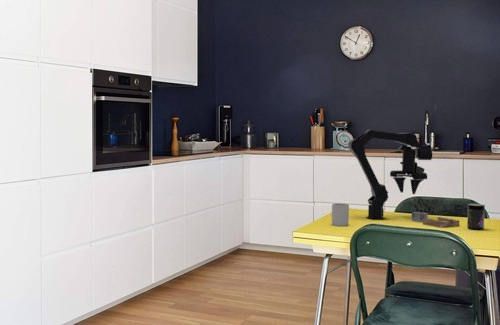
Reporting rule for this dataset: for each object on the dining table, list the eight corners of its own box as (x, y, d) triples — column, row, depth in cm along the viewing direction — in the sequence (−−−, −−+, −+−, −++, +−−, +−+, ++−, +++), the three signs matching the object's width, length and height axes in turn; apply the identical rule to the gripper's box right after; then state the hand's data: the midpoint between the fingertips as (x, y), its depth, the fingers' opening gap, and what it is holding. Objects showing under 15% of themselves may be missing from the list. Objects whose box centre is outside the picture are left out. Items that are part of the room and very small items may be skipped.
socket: (419, 222, 283) (419, 213, 283) (411, 221, 287) (411, 212, 287) (427, 222, 285) (427, 212, 285) (419, 220, 290) (419, 211, 290)
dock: (442, 227, 268) (442, 220, 268) (422, 224, 278) (423, 217, 278) (459, 226, 273) (459, 219, 273) (439, 222, 283) (439, 215, 283)
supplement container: (476, 230, 261) (477, 206, 261) (463, 228, 267) (464, 204, 266) (487, 229, 265) (488, 205, 264) (474, 227, 270) (475, 203, 270)
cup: (333, 226, 268) (334, 205, 267) (328, 222, 278) (329, 202, 277) (350, 226, 268) (350, 205, 268) (344, 222, 278) (345, 202, 278)
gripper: (436, 160, 288) (435, 194, 289) (406, 158, 304) (406, 190, 305) (418, 161, 282) (417, 195, 283) (389, 158, 298) (388, 191, 299)
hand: (407, 193), depth 293 cm, fingers open, 7 cm apart
